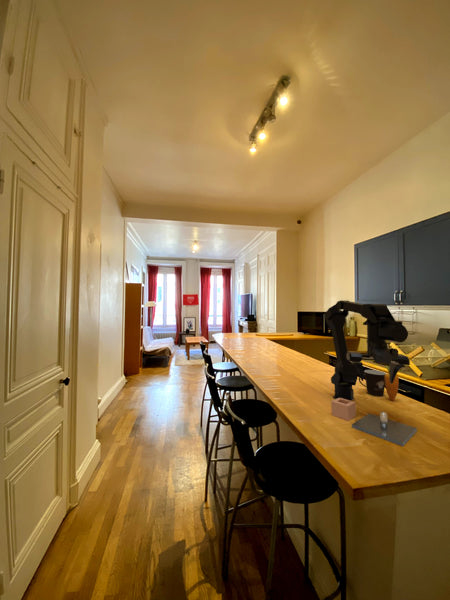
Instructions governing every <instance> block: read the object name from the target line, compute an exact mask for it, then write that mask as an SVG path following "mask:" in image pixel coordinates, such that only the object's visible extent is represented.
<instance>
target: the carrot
mask: <svg viewBox="0 0 450 600" xmlns="http://www.w3.org/2000/svg"><path fill="white" fill-rule="evenodd" d="M385 368H386V369H387V372H388V373H386V374H385V390H386V394H387V395H388V396H387V397H388V398H389V400H390V401H391V402H393V401H395V399H396V397H397V395H398V391H399V376H398V375H397V374H396V376H395V379H394V381H393V383H390V378H389V377H390V367H389V366H387V365H385Z"/></svg>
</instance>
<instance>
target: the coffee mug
mask: <svg viewBox="0 0 450 600" xmlns="http://www.w3.org/2000/svg"><path fill="white" fill-rule="evenodd" d="M385 374H387V373H386V372H385V371H383V370H382V371H380V370H376V369H374V370H373V369H365V370H364V371H363V378H365V384H364V383H362V382H363V381H362V380H361V378H360V376H358V381H359V383H360V384H361V385H362V386H363V387H365V388H366V392H367V394H368V395H370V396H373V397H377V398H378V397H384V396H385V395H384V393H385V389H386V387H385Z"/></svg>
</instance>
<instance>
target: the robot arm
mask: <svg viewBox="0 0 450 600" xmlns="http://www.w3.org/2000/svg"><path fill="white" fill-rule="evenodd" d="M349 312H351V313H354V314H359V315H360V316H361V317H363V318H364V319H366V320H364V322H362V325H363V326H366V354H364V353H363V354H362V353H361V352H359V351H348V350H349V349H348V345H347V342H346V341H347V339H346V336H345V330H344V327H345V325H346V323H347V321H346V319H347V317H348V316H349V314H350V313H349ZM324 320H325V322H326V325H327V326H328V328H329V329H330V331H331V335H332V340H333V345H334V351H335V356H336V364H335V366H334V373H333V374H332V376H331V377H330V382H331V384H332V385H334V396H332V398H333V399H334V400H335V399H337V398H343V399H346V400H350V401H353V400H355V397H354V394H355V393H354V389H353V386H357V385H356V384H357V381H358V379H359V377H360V381H361V382H364V376H363V375H364V371H363V366H364V365H363V364H364V363H363V362H362V361H363V360H364V361H374V362H375V363H376V364H388V365H389V368H390V377H389V378H390V383H393V381H394V379H395V376H396V375H397V374H398V373H399V371H400V370H401V369H402V368H406V366H410V365H411V359H410V357H408V356H407V355H405V354H403V353H399V350H398V349H397V348H388V343H387V342H386V341H388V342H389V341H390V342H393V343H404V342H405V341H406V340H407V339H408V338H409V331H408V329H407V327H406V326H405V325H403V321H399V320H396V319H395V317H394V316H393V314H392V313H391V310H390V309H389V308H388V305H387V304H385V303H361V302H355V301H350V300H342V299H340V300H338V301H336V303H335V304H333V305H332V306H331V307H329V308H328V309H327V310H326V312H325V313H324ZM358 375H359V376H358Z"/></svg>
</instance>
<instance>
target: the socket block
mask: <svg viewBox="0 0 450 600" xmlns="http://www.w3.org/2000/svg"><path fill="white" fill-rule="evenodd" d="M330 404H331V405H330V406H331V416H333V417H336V418H339V419H342V420H344V421H347V422H348V421H350V420H352V419H353V418H355V417H356V416H357V414H356V413H357V412H356V411H357V406H356V405H357V403H356V401H353V400H351V401H350V400H346V399H343V398H337V399H335V398H334V399H332V400H331V403H330Z"/></svg>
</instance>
